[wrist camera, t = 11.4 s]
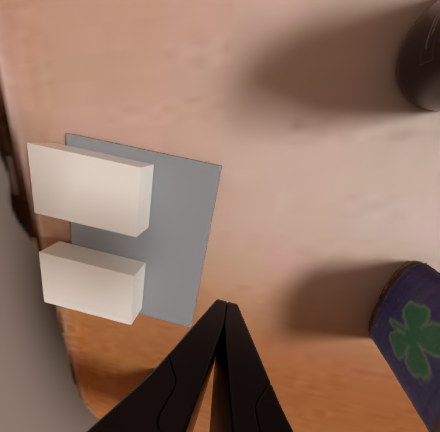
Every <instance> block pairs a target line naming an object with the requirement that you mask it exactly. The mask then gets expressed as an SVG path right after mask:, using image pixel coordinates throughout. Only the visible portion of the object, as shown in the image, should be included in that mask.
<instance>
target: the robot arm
mask: <svg viewBox="0 0 440 432" xmlns="http://www.w3.org/2000/svg"><path fill="white" fill-rule="evenodd" d="M215 357H216V358H215ZM214 361H215V367H214V379H213V393H212V406H211V420H210V432H293V430H292V428H291V426H290V424H289V422H288V420H287V419H286V417H285V414H284V412H283V410H282V408H281V406H280V403H279V401H278V399H277V397H276V394H275V392H274V390H273V387H272V385H270V380H269V378H268V376H267V373H266V371H265V369H264V366H263V364H262V361H261V359H260V357H259V354H258V352H257V350H256V347H255V345H254V343H253V340H252V338H251V336H250V333H249V331H248V328H247V326H246V324H245V321H244V319H243V317H242V314H241V312H240V310H239V307H238V305H237V304H235V303H231V302H228V303H227V302H226V301H223V300H219V299H218V300H216V301H215V302H214V303H213V305H212V306H211V307H210V308H209V309H208V310H207V311H206V312H205V314H204V315H203V316H202V317H201V318H200V319H199V320H198V321H197V323H196V324H195V325H194V326H193V327H192V328H191V329H190V330H189V332H188V333H187V334H186V335H185V336H184V337H183V338H182V340H181V341H180V342H179V343H178V344H177V345H176V346H175V347H174V349H173V350H172V351H171V352H170V353H169V354H168V356H166V357H165V359H164V360H163V361H162V362H161V363H160V364H159V365H158V366H157V367H156V368H155V370H154V371H153V372H152V373H151V374H150V375H149V376H148V377H147V378H146V379H145V380H144V381H143V382H142V383H140V384H139V385H138V386H137V387H136V388H135V389H134V390H133V391H132V392H131V393H130V394H129V395H127V396H126V397H125V398H124V399H123V400H122V401H121V402H120V403H118V404H117V405H116V406H115V407H114V408H113V409H112V410H111V411H109V412H108V413H107V414H106V415H105V416H104V417H103V418H102V419H101V420H99V421H98V422H97V423H96V424H95V425H94V426H93V427H91V429H89V430H88V431H87V432H193V429H194V426H195V423H196V420H197V417H198V413H199V410H200V407H201V404H202V400H203V397H204V394H205V391H206V388H207V384H208V381H209V378H210V375H211V372H212V368H213V365H214Z"/></svg>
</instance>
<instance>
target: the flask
mask: <svg viewBox="0 0 440 432" xmlns="http://www.w3.org/2000/svg"><path fill="white" fill-rule="evenodd" d="M369 333H370V335H371V337H372V339H373V341H374V342H375V344H376V345H377V347H378V349H379V350H380V352H381V354H382V355H383V357H384V358H385V360H386V361H387V363H388V364H389V366H390V368H391V369H392V371H393V373H394V374H395V376H396V378H397V380H398V381H399V383H400V384H401V386H402V388H403V389H404V391H405V392H406V394H407V396H408V397H409V399H410V401H411V402H412V404H413V406H414V407H415V409H416V411H417V412H418V414H419V416H420V417H421V419H422V420H423V422H424V424H425V425H426V427H427V429H428V431H429V432H440V273H439V272H437V271H436V270H435V269H433V268H432V267H430V266H429V265H427V263H422V262H419V261H410V262H408V263H407V264H405V265H403V266H402V268H400V269H399V270H398V271H397V272H396V274H395V275H394V276H393V278H392V279H391V280H390V281H389V283H388V285H387V286H386V287H385V289H384V290H383V293H382V295H381V296H380V300H379V302H378V303H377V305H376V308H375V310H374V313H373V315H372V318H371V320H370V322H369Z"/></svg>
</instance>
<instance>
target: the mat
mask: <svg viewBox="0 0 440 432" xmlns="http://www.w3.org/2000/svg"><path fill="white" fill-rule="evenodd" d="M66 145H67V146H72V147H76V148H81V149H86V150H90V151H95V152H100V153H104V154H109V155H113V156H118V157H123V158H127V159H132V160H136V161H141V162H146V163H150V164H154V170H153V182H152V194H151V206H150V218H149V227H148V228H147V229H146V230H145V231H143V232H142V233H141V234H140V235H139V236H137V237H133V236H129V235H125V234H120V233H116V232H112V231H108V230H104V229H100V228H95V227H91V226H87V225H83V224H79V223H75V222H71V221H70V224H71V243H72V244H74V245H78V246H82V247H86V248H90V249H94V250H98V251H102V252H106V253H110V254H114V255H118V256H122V257H126V258H130V259H134V260H138V261H142V262H146V265H145V277H144V289H143V301H142V309H141V310H140V312H139V314H142V315H146V316H150V317H154V318H157V319H161V320H165V321H169V322H173V323H176V324H180V325H184V326H188V327H191V325H192V321H193V316H194V311H195V305H196V300H197V295H198V290H199V284H200V279H201V274H202V269H203V263H204V258H205V253H206V247H207V242H208V237H209V232H210V226H211V221H212V216H213V211H214V205H215V200H216V195H217V190H218V184H219V179H220V174H221V168H222V166H221V165H216V164H211V163H207V162H202V161H197V160H193V159H188V158H183V157H178V156H174V155H169V154H164V153H160V152H155V151H150V150H145V149H141V148H136V147H131V146H127V145H122V144H117V143H113V142H108V141H103V140H98V139H94V138H89V137H84V136H80V135H75V134H70V133H66Z"/></svg>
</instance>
